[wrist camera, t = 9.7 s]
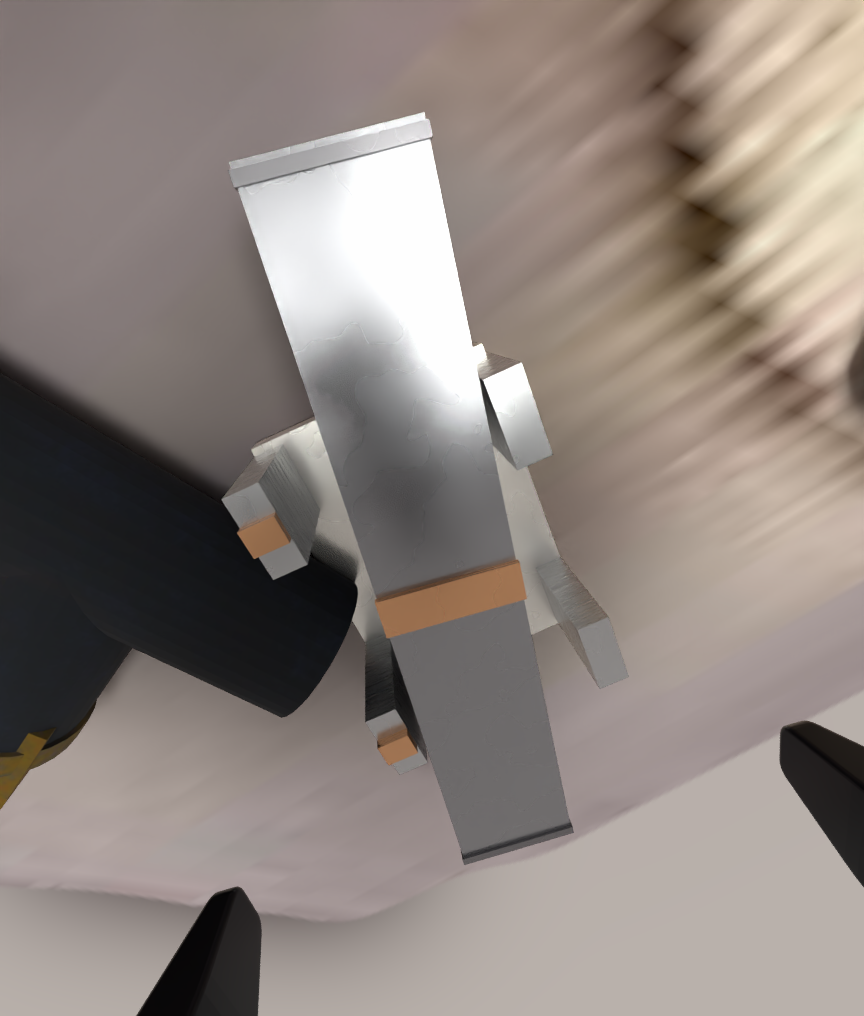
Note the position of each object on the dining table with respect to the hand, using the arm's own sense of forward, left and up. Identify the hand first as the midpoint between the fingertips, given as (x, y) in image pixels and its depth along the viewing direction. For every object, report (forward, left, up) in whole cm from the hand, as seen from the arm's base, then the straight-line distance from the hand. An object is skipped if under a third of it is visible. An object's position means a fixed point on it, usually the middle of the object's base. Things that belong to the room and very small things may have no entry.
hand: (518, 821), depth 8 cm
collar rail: (0, 0, -12) cm, 12 cm away
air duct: (0, 0, -11) cm, 11 cm away
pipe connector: (-4, -12, -12) cm, 17 cm away
